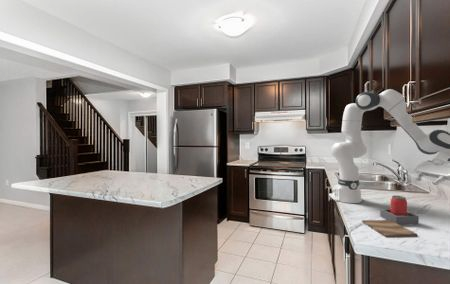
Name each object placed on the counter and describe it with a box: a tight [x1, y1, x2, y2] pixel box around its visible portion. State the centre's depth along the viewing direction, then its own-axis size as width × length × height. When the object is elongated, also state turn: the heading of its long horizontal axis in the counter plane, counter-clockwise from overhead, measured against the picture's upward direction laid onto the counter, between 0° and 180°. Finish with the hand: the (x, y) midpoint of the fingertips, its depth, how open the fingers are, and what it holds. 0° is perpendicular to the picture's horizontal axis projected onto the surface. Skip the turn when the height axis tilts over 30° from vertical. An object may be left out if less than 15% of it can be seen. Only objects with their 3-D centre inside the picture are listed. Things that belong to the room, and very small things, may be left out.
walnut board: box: [361, 219, 418, 238], centre depth 105 cm, size 16×14×1 cm
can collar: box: [379, 208, 420, 226], centre depth 115 cm, size 11×11×4 cm
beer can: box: [390, 195, 408, 216], centre depth 115 cm, size 7×7×12 cm
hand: (425, 181), depth 115 cm, fingers open, 8 cm apart
